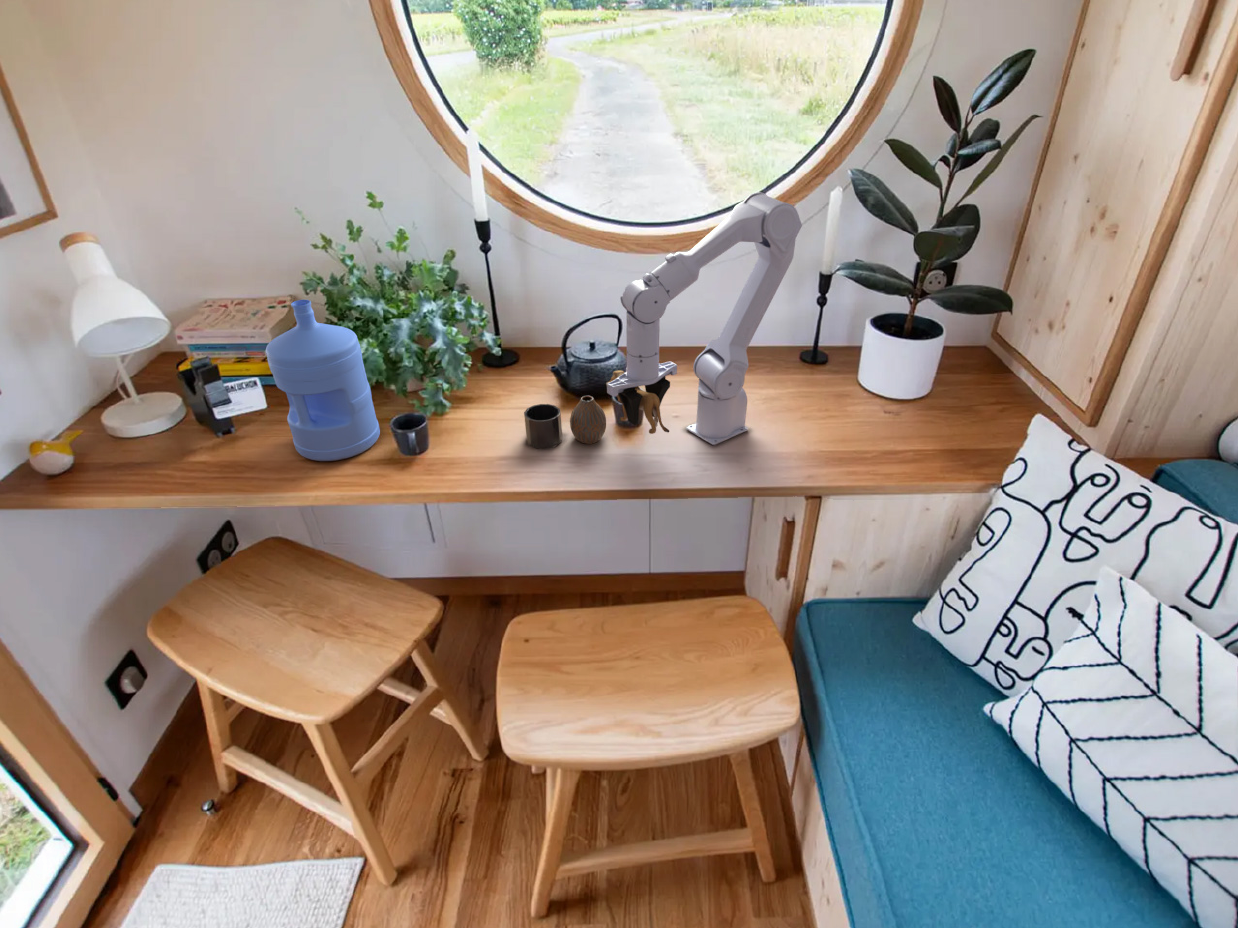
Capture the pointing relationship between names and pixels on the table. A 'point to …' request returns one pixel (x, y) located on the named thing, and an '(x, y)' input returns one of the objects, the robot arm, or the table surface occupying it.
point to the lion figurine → (644, 405)
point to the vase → (588, 421)
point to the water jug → (323, 387)
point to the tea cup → (543, 426)
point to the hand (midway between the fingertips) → (642, 418)
